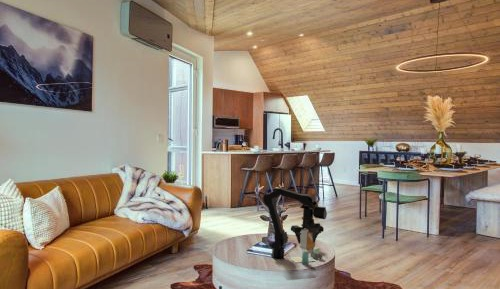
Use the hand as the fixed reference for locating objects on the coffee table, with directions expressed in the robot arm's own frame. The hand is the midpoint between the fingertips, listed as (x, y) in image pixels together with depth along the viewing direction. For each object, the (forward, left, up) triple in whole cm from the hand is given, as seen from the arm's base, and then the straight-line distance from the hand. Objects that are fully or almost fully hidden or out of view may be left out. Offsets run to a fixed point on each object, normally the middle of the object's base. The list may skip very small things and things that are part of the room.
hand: (306, 243), depth 209 cm
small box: (+15, +27, -12) cm, 33 cm away
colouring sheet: (+1, +6, -12) cm, 14 cm away
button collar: (+12, +9, -12) cm, 19 cm away
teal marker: (0, 0, -12) cm, 12 cm away
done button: (+12, +9, -11) cm, 18 cm away
